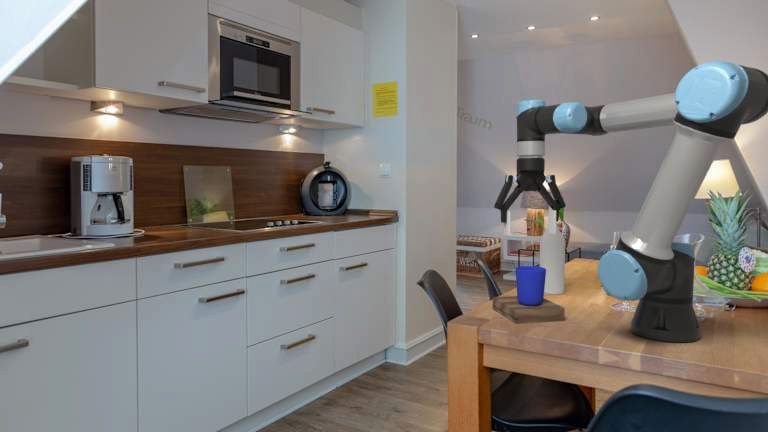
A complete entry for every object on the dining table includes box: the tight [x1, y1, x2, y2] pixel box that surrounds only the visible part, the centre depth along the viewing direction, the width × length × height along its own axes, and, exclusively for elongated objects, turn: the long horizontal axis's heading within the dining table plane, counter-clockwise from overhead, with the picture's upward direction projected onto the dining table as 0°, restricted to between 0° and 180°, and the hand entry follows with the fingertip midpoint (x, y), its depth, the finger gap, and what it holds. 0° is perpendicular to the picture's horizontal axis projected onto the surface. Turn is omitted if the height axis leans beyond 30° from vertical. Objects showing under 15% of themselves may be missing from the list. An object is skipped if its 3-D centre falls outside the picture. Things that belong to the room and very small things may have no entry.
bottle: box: [538, 205, 566, 295], centre depth 181 cm, size 8×8×30 cm
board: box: [492, 295, 565, 324], centre depth 153 cm, size 16×14×4 cm
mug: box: [515, 265, 546, 306], centre depth 152 cm, size 8×12×10 cm
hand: (529, 234), depth 151 cm, fingers open, 13 cm apart
